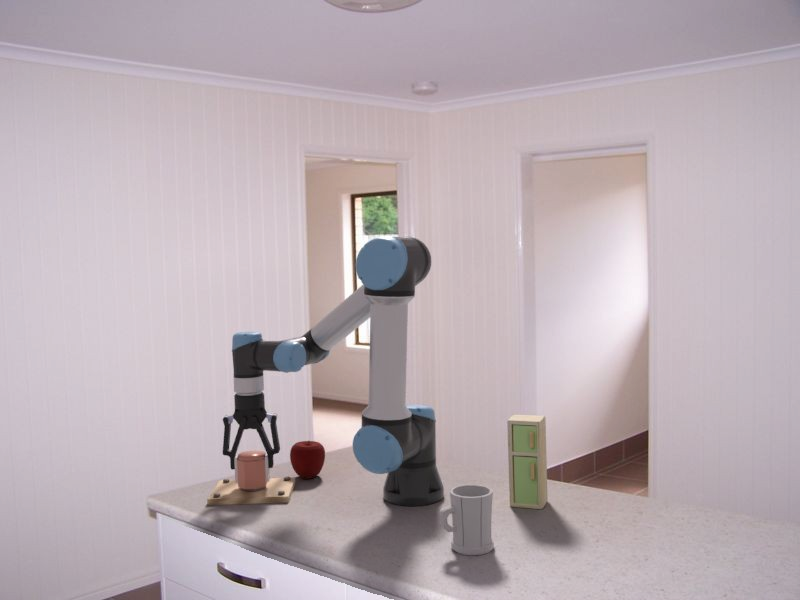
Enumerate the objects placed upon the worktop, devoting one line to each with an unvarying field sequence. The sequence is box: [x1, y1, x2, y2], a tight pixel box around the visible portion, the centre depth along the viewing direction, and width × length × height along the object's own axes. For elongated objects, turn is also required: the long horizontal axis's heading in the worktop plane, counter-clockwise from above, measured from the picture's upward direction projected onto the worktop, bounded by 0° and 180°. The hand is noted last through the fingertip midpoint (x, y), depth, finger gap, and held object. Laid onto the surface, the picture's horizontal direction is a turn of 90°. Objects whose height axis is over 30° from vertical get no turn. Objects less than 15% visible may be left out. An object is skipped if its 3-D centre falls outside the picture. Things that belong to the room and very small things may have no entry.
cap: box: [237, 450, 267, 489], centre depth 200 cm, size 7×7×8 cm
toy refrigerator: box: [507, 413, 549, 510], centre depth 186 cm, size 8×7×21 cm
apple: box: [289, 440, 326, 479], centre depth 214 cm, size 10×10×10 cm
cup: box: [439, 484, 495, 556], centre depth 160 cm, size 10×9×12 cm
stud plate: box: [206, 476, 296, 506], centre depth 201 cm, size 20×16×8 cm
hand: (252, 480), depth 201 cm, fingers closed on cap, 7 cm apart
